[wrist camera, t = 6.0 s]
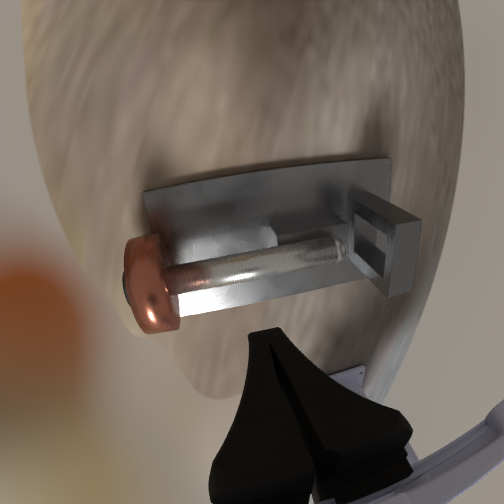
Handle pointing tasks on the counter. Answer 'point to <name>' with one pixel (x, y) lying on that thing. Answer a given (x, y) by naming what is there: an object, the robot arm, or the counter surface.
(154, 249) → the hammer
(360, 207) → the eye bracket
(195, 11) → the counter surface
